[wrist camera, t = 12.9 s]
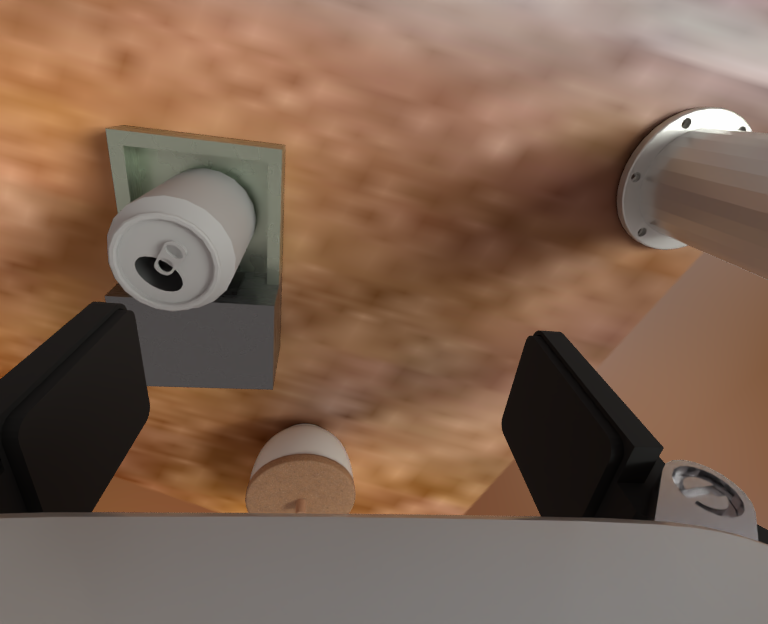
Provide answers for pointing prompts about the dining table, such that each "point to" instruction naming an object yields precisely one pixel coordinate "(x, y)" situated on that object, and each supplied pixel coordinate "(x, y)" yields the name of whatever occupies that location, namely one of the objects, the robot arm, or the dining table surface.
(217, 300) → the frame
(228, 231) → the can
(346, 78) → the dining table surface
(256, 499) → the lidded jar
